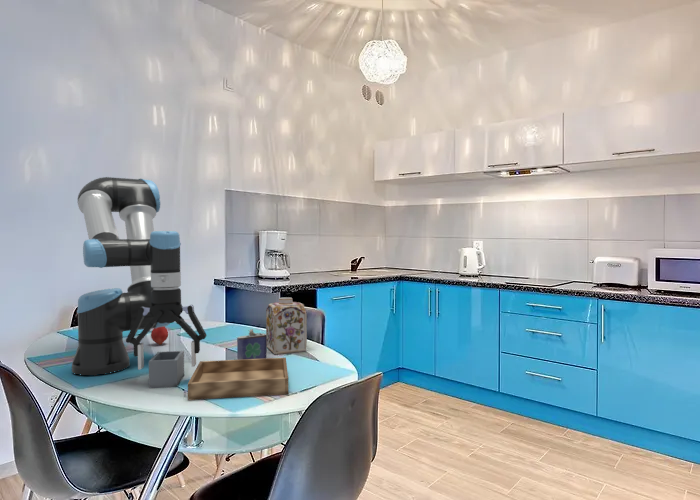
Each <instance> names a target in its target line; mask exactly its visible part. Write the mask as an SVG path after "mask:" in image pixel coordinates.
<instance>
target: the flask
mask: <svg viewBox="0 0 700 500" xmlns="http://www.w3.org/2000/svg"><path fill="white" fill-rule="evenodd" d="M266 338H267V335H266V333H261V332H254V329H253V328H252V329H250V330H248V335H241V336H237V337H236V341H237V343H236V344H237V345H236V347H237V348H236V350H237V351H236V353H237V357H236V360H242V359H264V358H267V352H268V351H267V349H268V348H267V344H266V343H267V339H266Z"/></svg>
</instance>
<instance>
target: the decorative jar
mask: <svg viewBox="0 0 700 500" xmlns="http://www.w3.org/2000/svg"><path fill="white" fill-rule="evenodd" d="M307 313H308V312H307V309H306V308H305V304H304V303H301V302H299V301H298V302H297V301H293V298H292V297H289V296H288V297H287V296H286V297H279V298H278V301H276V302H271V303H268V306H267V307H266V310H265V323H266V324H265V331H266V332H265V334H266V335H267V338H266V339H267V343H266V344H267V347H266V348H267V349H268V350H269V351H270V352H271V353H272V354H273V355H286V354H294V353H295V354H296V353H304V352H306V351H307V347H308V346H307V345H308V337H307V336H308V333H307V332H308V331H307V329H308V326H307V325H308V324H307V322H308V320H307V319H308V318H307V317H308V315H307Z"/></svg>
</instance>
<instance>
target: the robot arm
mask: <svg viewBox="0 0 700 500" xmlns="http://www.w3.org/2000/svg"><path fill="white" fill-rule="evenodd" d="M77 206H78V209H79V211H80V212H81V213H82V214H83V217H84V221H85V227H86V231H87V235H88V239H85V240H84V241H83V245H82V246H83V247H82V256H83V264H84V265H85V266H86V267H87V268H100V269H103V268H113V267H114V268H115V267H116V268H117V267H119V268H120V267H129V269H130V277H131V279H130V280H131V283H130V284H129V286H128V287H127V292H123V290H122V288H119V287H115V288H105V289H100V290H94V291H91V292H87V293H84V294H82V295H80V296H79V298H78V299H77V310H76V313H77V328H78V329H77V334H78V335H77V338H78V339H77V341H78V343H77V348H76V351H75V354H74V358H73V359H72V363H71V373H72V372H73V373H75V374H81V375H94V376H98V375H97V374H104V375H106V374H105V373H110V372H114V371H118V370H121V371H123V370H122V369H124V368H126V369H128V368H129V367H130V366H131V365H130V364H131V363H130V356H129V354H128V351H127V348H126V346H125V344H124V339H123V336H124V335H123V332H128V331H129V333H128V335H127V337H126V339H125V342H126V343H127V344H128V343H130V344H131V345H133V356H134V357H137V370H139V371H140V370H142V369H143V368H144V367H145V360H144V359H145V357H144V350H145V349H144V342H141V341H142V340H143V339H144V338H145V337H146V336H147V334H148V333H150V331H151V329H154V328H158V327H167V326H169V325H170V324H173V323H174V322H175V323H176V324H177V325H178V326H179V327H180V328H181V329H182V330H184V332H185V333H186V334H187V335H188V336H189V338H191V339H192V341H191V342H190V344H191V345H190V347H191V351H190V352H191V354H190V355H191V357H190V358H191V367H195V366H196V365H197V354H199V353H200V351H201V341H202V340H205V338H206V337H208V336H207V333H206V331H205V328H203V326H202V323H201V322H200V320H199V319H198V317H197V315H196V313H195V308H194V307H195V306H194V305H193V304H189V305H185V306H183V305H182V289H181V288H180V287H181V285H182V281H181V280H182V276H181V275H182V274H181V273H182V272H181V245H182V243H181V240H180V239H181V238H180V234H179V232H178V231H175V230H172V231H170V230H161V231H160V230H157V231H156V230H155V228H154V221H153V220H154V218H156V216H157V213H158V212H160V209H161V195H160V191H159V188H158V185H157V184H156V183H155V182H154V181H153V180H152V179H151V180H150V179H143V178H126V177H125V178H124V177H111V176H110V177H109V176H105V177H104V176H103V177H99V178H98V177H97V178H95V179H93V180H91V181H89V182H87V184H85V185H84V186H83V187H82V188H81V189H80V191H79V193H78V195H77ZM113 213H118V216H119V218H120V219H121V220H122V221H123V222H124V225H125V233H126V239H125V238H122V239H121V238H120V236H119V233H118V232H119V231H118V230H117V226H116V223H115V219H114V216H113ZM183 311H184V313H185V314H186V315H188V317H189V319H190V321H191V323H192V324H193V326H194V328H195V330H194V329H193V328H192V327H191V325H189V323H188V322H186V321H185V320H184V318H183V317H182V316H181V314H182V313H183ZM139 330H141V332H140V333H139V334H138V335H137V333H138V331H139ZM197 333H198V334H197ZM136 335H137V336H136ZM128 366H129V367H128ZM127 367H128V368H127ZM124 370H125V369H124ZM118 372H119V371H118ZM73 373H72V374H73ZM114 373H115V372H114ZM75 374H74V375H75ZM110 374H111V373H110ZM81 375H80V376H81Z"/></svg>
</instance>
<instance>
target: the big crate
mask: <svg viewBox="0 0 700 500" xmlns="http://www.w3.org/2000/svg"><path fill="white" fill-rule="evenodd" d="M280 395H289V373H288V365H287V357H268V358H264V359H242V360H237V359H222V360H202V361H199V363H198V365H197V366H196V367H195V370H194V372H193V374H192V375H191V377H190V379H189V381H188V383H187V401H195V400H197V401H199V400H213V399H229V398H230V399H232V398H245V397H246V398H247V397H248V398H249V397H264V396H265V397H266V396H280Z"/></svg>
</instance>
